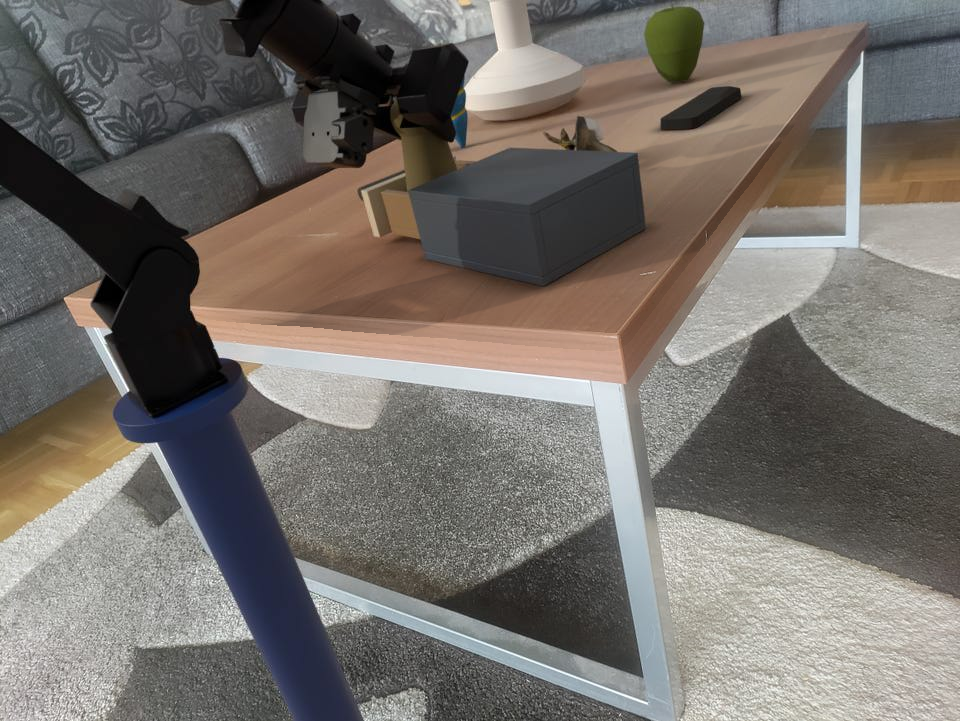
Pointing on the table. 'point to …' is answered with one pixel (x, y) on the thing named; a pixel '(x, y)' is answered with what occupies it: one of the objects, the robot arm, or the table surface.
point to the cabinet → (530, 211)
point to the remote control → (700, 108)
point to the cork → (422, 152)
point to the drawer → (392, 204)
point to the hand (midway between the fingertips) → (433, 138)
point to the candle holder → (520, 71)
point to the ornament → (460, 115)
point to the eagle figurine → (582, 137)
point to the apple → (675, 41)
